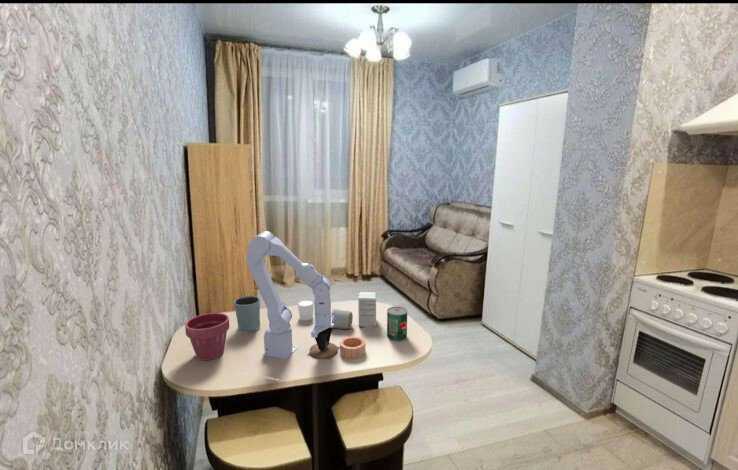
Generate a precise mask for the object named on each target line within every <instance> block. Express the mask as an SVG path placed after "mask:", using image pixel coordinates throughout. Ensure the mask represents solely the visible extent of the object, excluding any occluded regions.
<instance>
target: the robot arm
mask: <svg viewBox="0 0 738 470" xmlns="http://www.w3.org/2000/svg"><path fill="white" fill-rule="evenodd" d="M267 255H268V256H273V257H274V256H276V257H279V258H281V260H283V261H284V262H285V263H287V265H288V266H290V267H291V268H293V269H294V270H295V272H296V273H295V275H296V277H297V278H299V279H300V280H301V281H302V282H303V283H304V284H305V285H306V286H308V287H309V288H310V289H312V290H311V292H312V294H313V295H314V299H313V302H314V305H313V310H314V324H313V327H312V330H311V331H310V337H311V338H314V339H315V342H316V344H317V345H318V349H320V350H324V349H325V344H326V340H327V344H328V345H329V343H330V341H331V336H332V334H333V331H334V330H335V328H334V324H333V323H332V321H334V316H333V315H331V314H332V306H331V305H332V303H331V302H332V300H331V286H332V282H331V280H330V279H329V278H328V277H327V276H325V275H324V274H320V273H319V272H318V271H317V270H316V269H315V266H314V265H313V264H309V263H308V262H302V261H301V260H300V259H299V258H298V257H297V256H296V255H295V254H294V253H293V252H292V251H291V250H290V249H289V248H288V247H287V245H285V244H284V243H283V242H282V240H281V239H280V238H279V237H277V236H275V234H273V233H272V232H270V231H268V230H264V231H261V232H260V233H259V234H258V235H256V236H254V237H253V238H251V240H250V242H249V243H248V245H247V256H246V264H247V267H248V269H249V270H250V273H251V276H252V278H253V280H254V283H255V284H256V287H257V289H258V291H259V293H260V295H261V297H262V300H263V301H264V305H265V306H266V309H267V314H266V316H267V317H266V318H267V319H268V327H267V328H266V329H265V331H264V335H263V345H264V346H263V347H264V352H263V356H264V355H265V356H268V357H274V358H279V359H284V360H287V359H288V358H289V357H290V356H291V355H292V354H294V353H295V351H296V350H298V347H297V346H293V328H292V325H291V320H292V318H293V313H292V311H291V310H290V308H288V307H287V305H286V303H285V302H284V301H283V300H281V298H280V296H279V293H278V291H277V288H276V286H275V285H274V282H273V280H272V277H271V275H270V272H269V271H268V268H267V266H266V263H265V259H266V257H267Z"/></svg>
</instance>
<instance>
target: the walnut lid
mask: <svg viewBox="0 0 738 470" xmlns="http://www.w3.org/2000/svg"><path fill="white" fill-rule="evenodd" d="M337 347H338V346H337V344H335V343H332V342H329V345H328V344H327V340H326V344H325V349H324V350H320V349H318V345H317V343H315V344H313V345H311V347H310V348H309V352H310V354H311V356H310V357H313V358H316V359H323V358H329V357H332V356H333V357H334V356H335V355H337V354H338V352H339V349H338V348H337ZM333 357H332V358H333Z"/></svg>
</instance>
